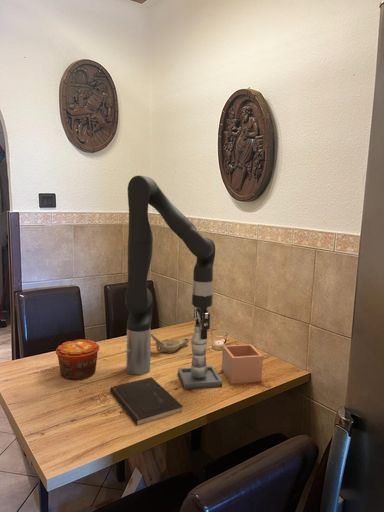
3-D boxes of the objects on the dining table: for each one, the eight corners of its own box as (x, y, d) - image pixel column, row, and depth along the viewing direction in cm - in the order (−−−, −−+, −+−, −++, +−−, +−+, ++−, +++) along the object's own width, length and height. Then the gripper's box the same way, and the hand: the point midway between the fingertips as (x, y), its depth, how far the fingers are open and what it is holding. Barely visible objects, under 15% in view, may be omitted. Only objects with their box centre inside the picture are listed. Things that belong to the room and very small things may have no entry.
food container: (47, 376, 141) (46, 348, 140) (78, 360, 155) (77, 336, 154) (78, 386, 134) (78, 358, 132) (108, 369, 148) (108, 343, 146)
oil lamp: (145, 352, 166) (146, 331, 164) (183, 342, 180) (183, 322, 178) (157, 359, 159) (157, 336, 158) (194, 347, 173) (195, 327, 172)
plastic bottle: (208, 373, 145) (208, 323, 142) (206, 381, 138) (207, 329, 136) (191, 372, 146) (191, 322, 143) (189, 380, 139) (189, 328, 136)
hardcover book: (151, 382, 139) (151, 376, 139) (182, 412, 120) (182, 406, 120) (110, 393, 131) (110, 387, 131) (136, 427, 112) (136, 420, 111)
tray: (184, 389, 134) (184, 384, 134) (178, 373, 146) (178, 368, 146) (222, 386, 137) (222, 381, 137) (212, 370, 150) (212, 365, 149)
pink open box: (231, 383, 139) (232, 358, 138) (221, 369, 151) (222, 345, 149) (261, 381, 142) (262, 356, 141) (249, 367, 154) (251, 344, 152)
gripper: (188, 288, 143) (187, 329, 145) (196, 297, 129) (195, 342, 132) (207, 287, 145) (205, 328, 147) (217, 297, 131) (216, 341, 133)
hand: (200, 335), depth 139 cm, fingers open, 8 cm apart
